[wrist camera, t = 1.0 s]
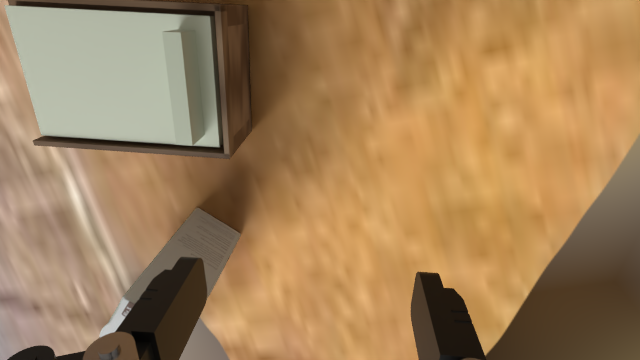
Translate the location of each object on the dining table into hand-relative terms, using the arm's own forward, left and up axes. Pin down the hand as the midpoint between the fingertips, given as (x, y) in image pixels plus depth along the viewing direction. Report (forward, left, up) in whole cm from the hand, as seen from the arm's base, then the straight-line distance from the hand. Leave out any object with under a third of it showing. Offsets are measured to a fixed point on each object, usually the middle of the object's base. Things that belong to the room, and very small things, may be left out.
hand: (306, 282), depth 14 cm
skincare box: (+15, -14, -23) cm, 31 cm away
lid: (-4, -16, -17) cm, 24 cm away
